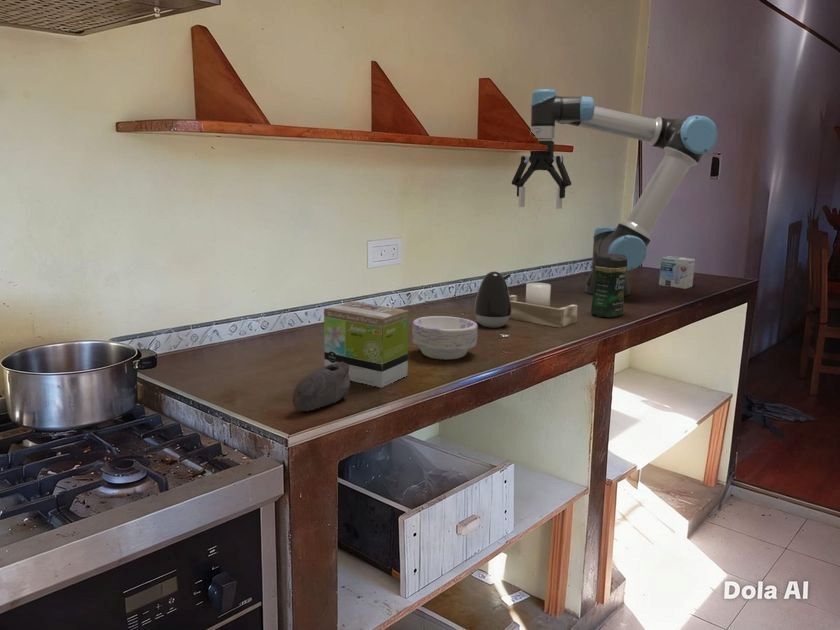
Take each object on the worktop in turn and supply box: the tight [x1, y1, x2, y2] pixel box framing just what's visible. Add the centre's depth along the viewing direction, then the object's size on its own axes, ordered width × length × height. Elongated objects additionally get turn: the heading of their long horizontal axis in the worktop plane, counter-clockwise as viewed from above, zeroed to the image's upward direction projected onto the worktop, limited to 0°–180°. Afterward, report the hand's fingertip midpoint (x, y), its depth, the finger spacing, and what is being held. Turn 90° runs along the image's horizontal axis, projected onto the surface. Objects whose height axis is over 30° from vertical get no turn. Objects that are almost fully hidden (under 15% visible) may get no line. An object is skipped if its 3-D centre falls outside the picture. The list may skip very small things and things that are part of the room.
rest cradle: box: [509, 294, 578, 329], centre depth 204 cm, size 10×22×5 cm, turn 50°
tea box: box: [323, 300, 410, 388], centre depth 145 cm, size 15×10×15 cm
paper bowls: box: [411, 315, 479, 361], centre depth 164 cm, size 15×15×8 cm
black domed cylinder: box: [473, 271, 511, 329], centre depth 194 cm, size 10×10×15 cm
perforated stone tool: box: [292, 361, 351, 412], centre depth 129 cm, size 15×5×7 cm, turn 146°
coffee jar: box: [590, 254, 627, 318], centre depth 210 cm, size 10×8×19 cm
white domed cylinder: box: [525, 282, 552, 307], centre depth 205 cm, size 7×7×10 cm
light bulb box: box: [658, 255, 696, 290], centre depth 264 cm, size 11×7×11 cm, turn 49°
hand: (540, 207), depth 228 cm, fingers open, 13 cm apart
